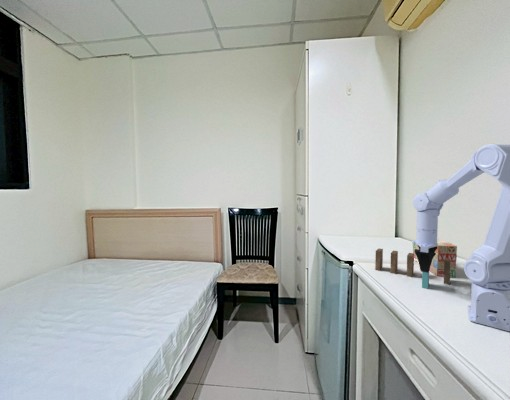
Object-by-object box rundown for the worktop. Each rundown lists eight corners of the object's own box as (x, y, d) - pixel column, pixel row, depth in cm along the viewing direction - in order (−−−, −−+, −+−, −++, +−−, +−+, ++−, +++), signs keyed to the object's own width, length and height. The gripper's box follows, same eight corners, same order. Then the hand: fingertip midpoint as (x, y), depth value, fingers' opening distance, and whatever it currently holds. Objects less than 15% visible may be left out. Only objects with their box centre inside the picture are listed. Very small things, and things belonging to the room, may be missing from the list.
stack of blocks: (412, 260, 110) (412, 233, 109) (427, 260, 108) (428, 234, 108) (437, 276, 89) (438, 244, 88) (456, 278, 88) (457, 245, 87)
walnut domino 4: (449, 280, 85) (450, 258, 85) (449, 284, 81) (450, 261, 81) (444, 279, 86) (444, 257, 86) (443, 283, 83) (444, 261, 82)
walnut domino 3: (413, 273, 92) (413, 253, 92) (411, 277, 89) (412, 256, 88) (408, 272, 93) (409, 252, 93) (406, 276, 90) (407, 255, 89)
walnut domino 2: (397, 270, 96) (397, 251, 96) (395, 273, 92) (395, 253, 92) (392, 269, 97) (393, 250, 97) (390, 272, 93) (390, 253, 93)
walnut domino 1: (382, 267, 100) (382, 248, 99) (379, 270, 96) (379, 251, 95) (378, 266, 101) (378, 248, 100) (375, 269, 97) (375, 250, 96)
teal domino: (428, 284, 82) (429, 261, 82) (427, 289, 78) (428, 265, 78) (423, 283, 83) (423, 260, 83) (421, 287, 79) (422, 264, 79)
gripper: (415, 225, 88) (414, 261, 89) (409, 231, 77) (408, 271, 77) (439, 227, 83) (438, 265, 84) (437, 233, 72) (435, 277, 73)
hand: (425, 268), depth 80 cm, fingers open, 7 cm apart
